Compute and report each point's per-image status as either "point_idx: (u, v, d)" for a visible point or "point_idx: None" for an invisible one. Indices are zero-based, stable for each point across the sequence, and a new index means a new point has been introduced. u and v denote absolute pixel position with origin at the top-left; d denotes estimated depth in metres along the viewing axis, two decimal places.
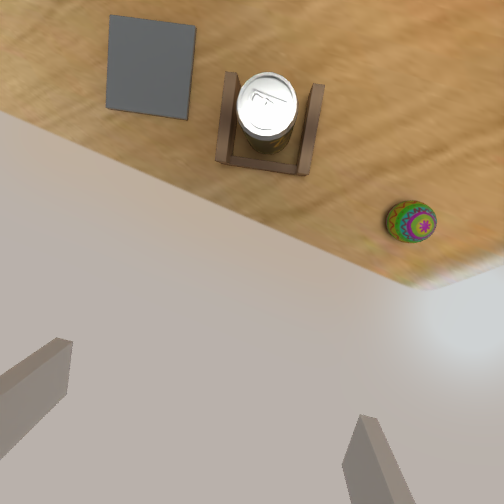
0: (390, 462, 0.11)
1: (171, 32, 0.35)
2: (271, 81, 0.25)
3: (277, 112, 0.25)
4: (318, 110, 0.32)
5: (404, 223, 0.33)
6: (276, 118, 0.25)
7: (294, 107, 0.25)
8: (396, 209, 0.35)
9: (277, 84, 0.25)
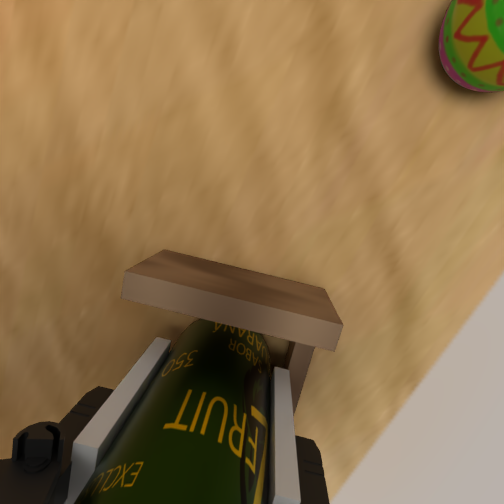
0: (285, 399, 0.13)
1: None
2: None
3: None
4: (184, 290, 0.12)
5: None
6: None
7: None
8: (477, 63, 0.11)
9: None
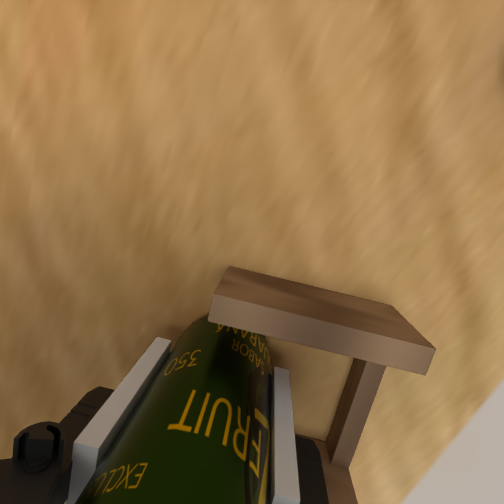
0: (285, 398, 0.13)
1: None
2: None
3: None
4: (273, 313, 0.12)
5: None
6: None
7: None
8: None
9: None
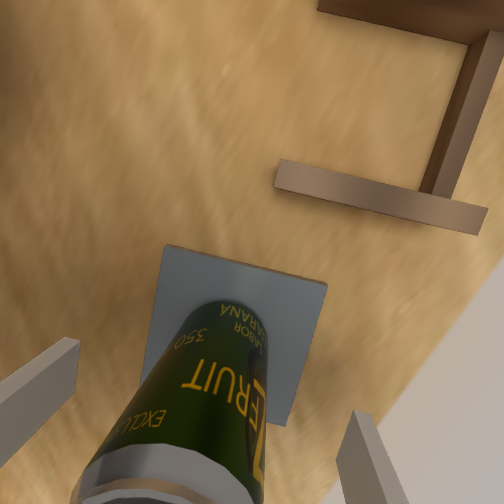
0: (382, 456, 0.11)
1: (172, 291, 0.19)
2: None
3: None
4: None
5: None
6: None
7: (170, 498, 0.07)
8: None
9: None
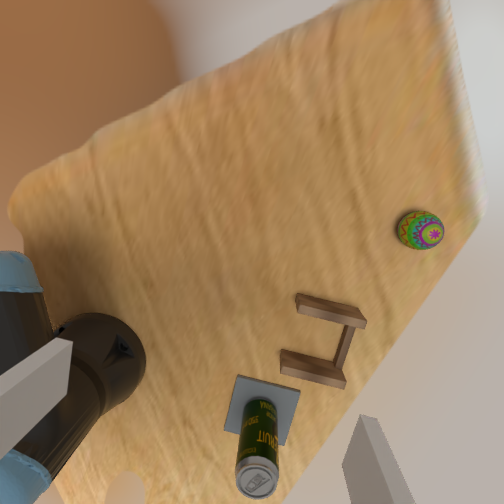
0: (390, 462, 0.11)
1: (239, 393, 0.47)
2: (242, 477, 0.36)
3: (262, 474, 0.36)
4: (318, 310, 0.40)
5: (426, 246, 0.37)
6: (266, 476, 0.36)
7: (261, 467, 0.36)
8: (407, 244, 0.39)
9: (244, 473, 0.36)
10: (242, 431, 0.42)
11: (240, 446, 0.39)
